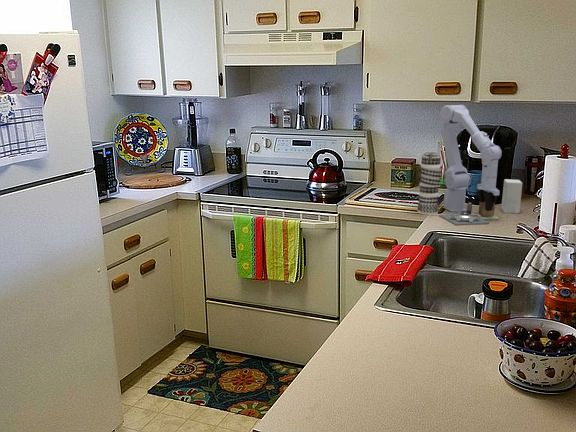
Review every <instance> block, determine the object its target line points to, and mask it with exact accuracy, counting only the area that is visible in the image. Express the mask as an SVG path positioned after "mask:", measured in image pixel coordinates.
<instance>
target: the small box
mask: <svg viewBox="0 0 576 432" xmlns="http://www.w3.org/2000/svg"><path fill="white" fill-rule="evenodd" d="M523 184H524V183H523V182H522V181H521V180H520V179H509V178H505V179H504V180H503V187H502V188H503V189H502V199H501V207H500V208H501V210H502V212H503V213H504V214H520V211H521V204H522V203H521V200H522V193H523Z"/></svg>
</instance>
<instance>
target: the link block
mask: <svg viewBox="0 0 576 432" xmlns="http://www.w3.org/2000/svg"><path fill="white" fill-rule="evenodd" d="M478 204H479V205H478V211H477V212H478V213H477V214H480V215H481V216H495V208H496V202H495V203H494V205H493V208H492V210H491V211H486V202H480V201H479V203H478Z"/></svg>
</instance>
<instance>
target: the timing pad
mask: <svg viewBox="0 0 576 432" xmlns="http://www.w3.org/2000/svg"><path fill="white" fill-rule="evenodd" d="M480 217H481V219H483V220H486V221H487V220H499V217H498V216H496V215H494V216H481V215H480Z"/></svg>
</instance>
